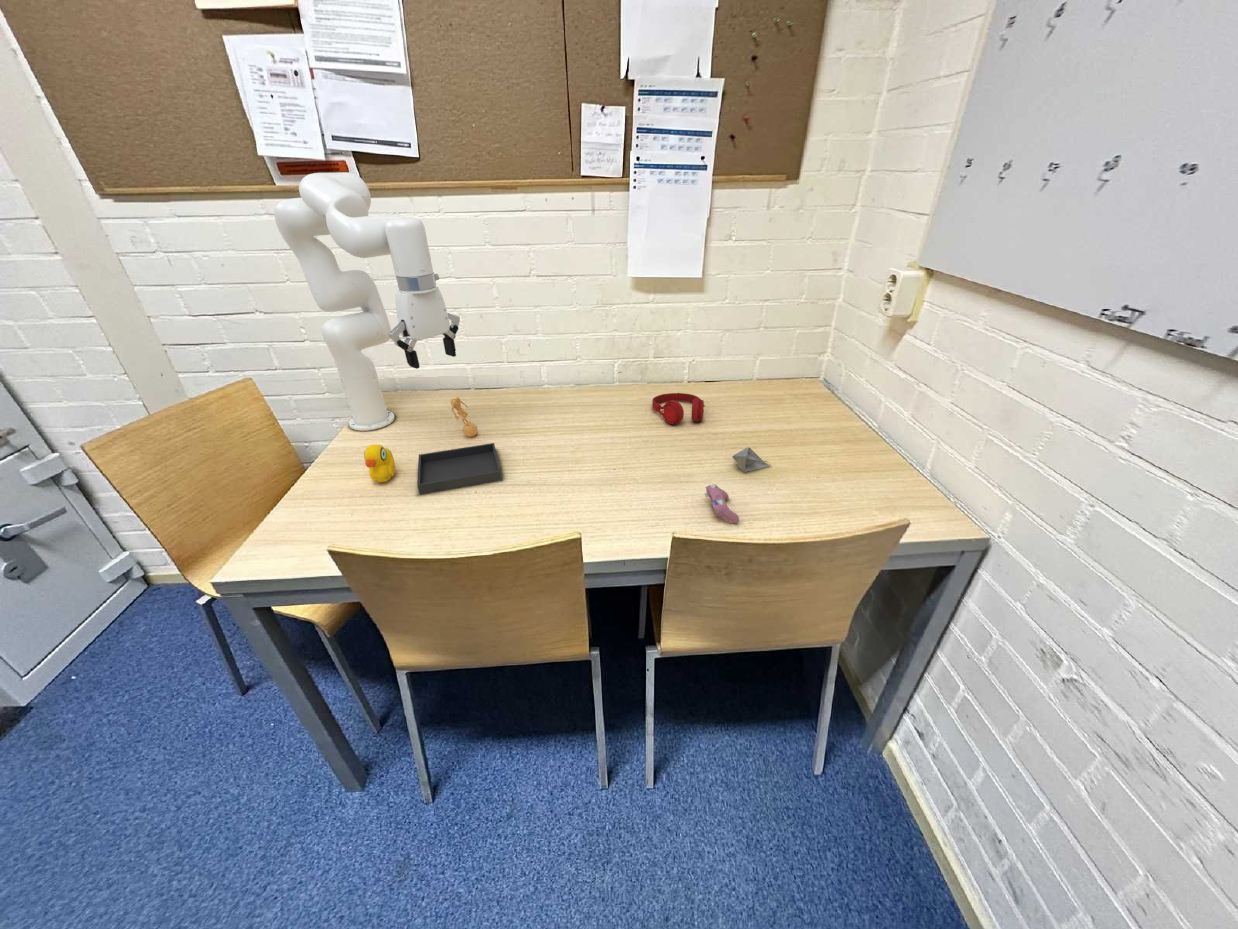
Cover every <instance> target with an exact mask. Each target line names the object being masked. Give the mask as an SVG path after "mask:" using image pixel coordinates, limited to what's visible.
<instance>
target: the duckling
mask: <svg viewBox="0 0 1238 929" xmlns="http://www.w3.org/2000/svg"><path fill="white" fill-rule="evenodd" d="M363 457H364V460H365V461H364V464H365V466H366V467H367V468H368V474H369V477H370V479H371V480H372V481H374V482H377V483H385V482H388V481H389V480H390V479H391V477H394V476H395V473H396V464H395V459H394V455H393V453H392V451H391V450H390V449H389V448H387V447H384V446H383V445H381V444H377V443H376V444H370V445H368V446H367V447H365V450H364V452H363Z"/></svg>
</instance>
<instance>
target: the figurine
mask: <svg viewBox="0 0 1238 929" xmlns="http://www.w3.org/2000/svg"><path fill="white" fill-rule="evenodd" d="M449 403H450V405H451V411H452V413H453V415H454V417H455V420H460V417H461V421H462V423H463V424H464V425H463V427H462V432H463V434H464V435H465V436H466V437H470V438H473V437H474V436H476V435H477V433H478V427H477V425H476V424H475V423H473V422H471V421H469V420H467V417H468V415H469V413H468V412H467V411H466V410H464V408H462V405H463V406H465V407H466V408H469V406H468V405H467V404H466V403H465V402H463V401H462V400H461V398H460V397H459V396H457V397H456V398H452V399H450V402H449ZM454 409H455V410H456V411H457V412H456V411H455V410H454ZM457 414H458V416H457ZM459 416H460V417H459Z"/></svg>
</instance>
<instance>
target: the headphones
mask: <svg viewBox="0 0 1238 929" xmlns="http://www.w3.org/2000/svg"><path fill="white" fill-rule="evenodd" d="M651 401H652V402H651V404H652V405H651V406H652V409H653V410H654V411H655V413H658V414H659V415H660V416H661V417H662V418H663V419H664V421H665V422H666V423H667V424H669V425H678V424H680V423H681V422H683V420H684V416H685V412H684V407H683V405H682V404H681V403H680V402H686V403H691V421H692V422H693V423H698V422H700V421H703V418H704V412H705V411H704V408H705V407H706V405H705V402H704V399H701V398H700V397H699V396H697V395H694V394H691V393H683V392H682V393H681V392H671V393H663V394H658V395H656V396H654V397H653V398H652V400H651ZM661 403H665V404H663V406H662V405H661Z"/></svg>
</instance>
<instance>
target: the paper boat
mask: <svg viewBox="0 0 1238 929" xmlns="http://www.w3.org/2000/svg"><path fill="white" fill-rule="evenodd" d="M731 458H732V459H733V460H734V462H735V463H736V465H737V467H738V468H739V469H740V471H741V472H743V473H748V472H752V471H755V470H759V469H764V468H767V467H769V464H767V463H769V461H767V460H763V459H762V458H761V457H760V455H758V454H757V453H756V452H755V451H754V450H753V449H752V448H751V447H750V446H749V447H745V448H743V449H742V450H740V451H738V452H736V453H735V454H733V455H732V456H731Z"/></svg>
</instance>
